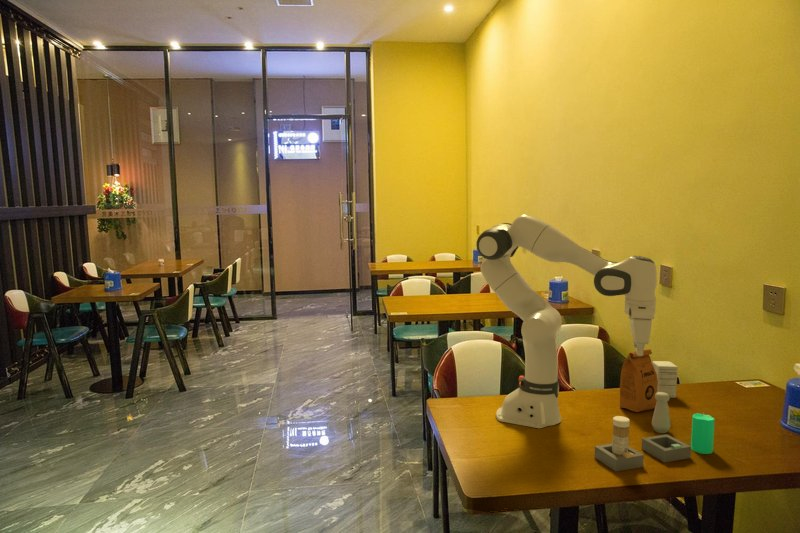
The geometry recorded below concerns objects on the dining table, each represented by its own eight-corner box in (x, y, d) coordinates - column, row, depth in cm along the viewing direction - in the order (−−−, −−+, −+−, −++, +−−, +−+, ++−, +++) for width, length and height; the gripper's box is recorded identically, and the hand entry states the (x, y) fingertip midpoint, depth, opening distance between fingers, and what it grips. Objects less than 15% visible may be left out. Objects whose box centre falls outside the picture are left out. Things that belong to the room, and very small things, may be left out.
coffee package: (661, 410, 207) (664, 351, 204) (636, 415, 202) (638, 355, 199) (639, 401, 216) (642, 345, 213) (615, 406, 211) (617, 349, 208)
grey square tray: (664, 462, 166) (665, 448, 165) (641, 449, 175) (642, 435, 174) (690, 457, 169) (691, 443, 168) (666, 444, 178) (667, 431, 177)
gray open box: (615, 471, 160) (616, 457, 160) (594, 457, 169) (595, 443, 169) (643, 466, 163) (643, 452, 163) (621, 452, 172) (621, 439, 172)
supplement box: (650, 391, 228) (651, 360, 226) (669, 391, 227) (671, 361, 226) (656, 397, 220) (658, 365, 219) (676, 398, 220) (678, 366, 218)
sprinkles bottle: (619, 458, 169) (621, 414, 167) (631, 464, 165) (633, 419, 163) (607, 460, 167) (609, 416, 166) (619, 467, 163) (621, 422, 161)
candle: (712, 455, 170) (714, 417, 169) (689, 451, 173) (691, 413, 172) (713, 448, 175) (715, 410, 174) (691, 443, 178) (693, 407, 177)
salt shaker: (672, 435, 185) (674, 396, 184) (653, 433, 186) (655, 395, 185) (667, 428, 191) (669, 390, 189) (649, 426, 192) (651, 389, 190)
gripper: (626, 302, 188) (624, 342, 189) (632, 313, 168) (630, 359, 170) (646, 302, 186) (645, 344, 187) (655, 314, 166) (653, 360, 168)
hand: (638, 351), depth 178 cm, fingers open, 8 cm apart
